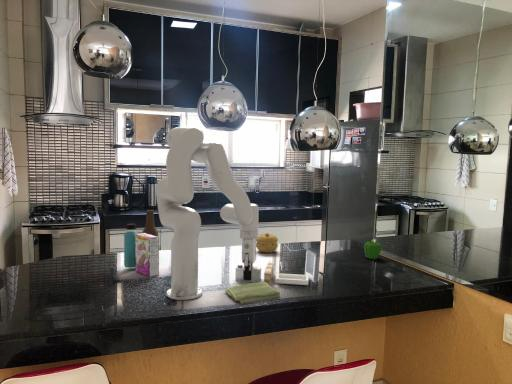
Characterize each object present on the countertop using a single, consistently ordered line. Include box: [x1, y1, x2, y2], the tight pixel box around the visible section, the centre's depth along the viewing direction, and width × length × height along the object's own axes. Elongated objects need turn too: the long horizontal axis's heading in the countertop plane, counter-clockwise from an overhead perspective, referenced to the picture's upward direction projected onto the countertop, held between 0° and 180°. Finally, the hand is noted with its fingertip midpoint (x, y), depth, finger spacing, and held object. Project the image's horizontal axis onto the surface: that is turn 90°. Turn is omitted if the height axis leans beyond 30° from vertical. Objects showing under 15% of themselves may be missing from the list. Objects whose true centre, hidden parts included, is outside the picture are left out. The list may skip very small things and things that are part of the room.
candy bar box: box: [135, 232, 160, 278], centre depth 168 cm, size 11×5×16 cm, turn 47°
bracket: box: [275, 273, 309, 286], centre depth 163 cm, size 8×13×2 cm, turn 83°
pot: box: [256, 232, 279, 254], centre depth 213 cm, size 12×12×10 cm
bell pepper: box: [363, 239, 382, 260], centre depth 203 cm, size 8×8×10 cm
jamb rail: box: [263, 262, 275, 286], centre depth 164 cm, size 16×2×5 cm, turn 173°
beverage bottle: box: [123, 223, 140, 269], centre depth 174 cm, size 6×7×20 cm
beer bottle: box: [141, 209, 159, 237], centre depth 189 cm, size 8×8×24 cm
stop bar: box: [234, 264, 262, 283], centre depth 164 cm, size 4×10×6 cm, turn 83°
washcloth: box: [224, 280, 281, 304], centre depth 145 cm, size 13×18×3 cm
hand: (248, 277), depth 164 cm, fingers closed on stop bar, 4 cm apart
